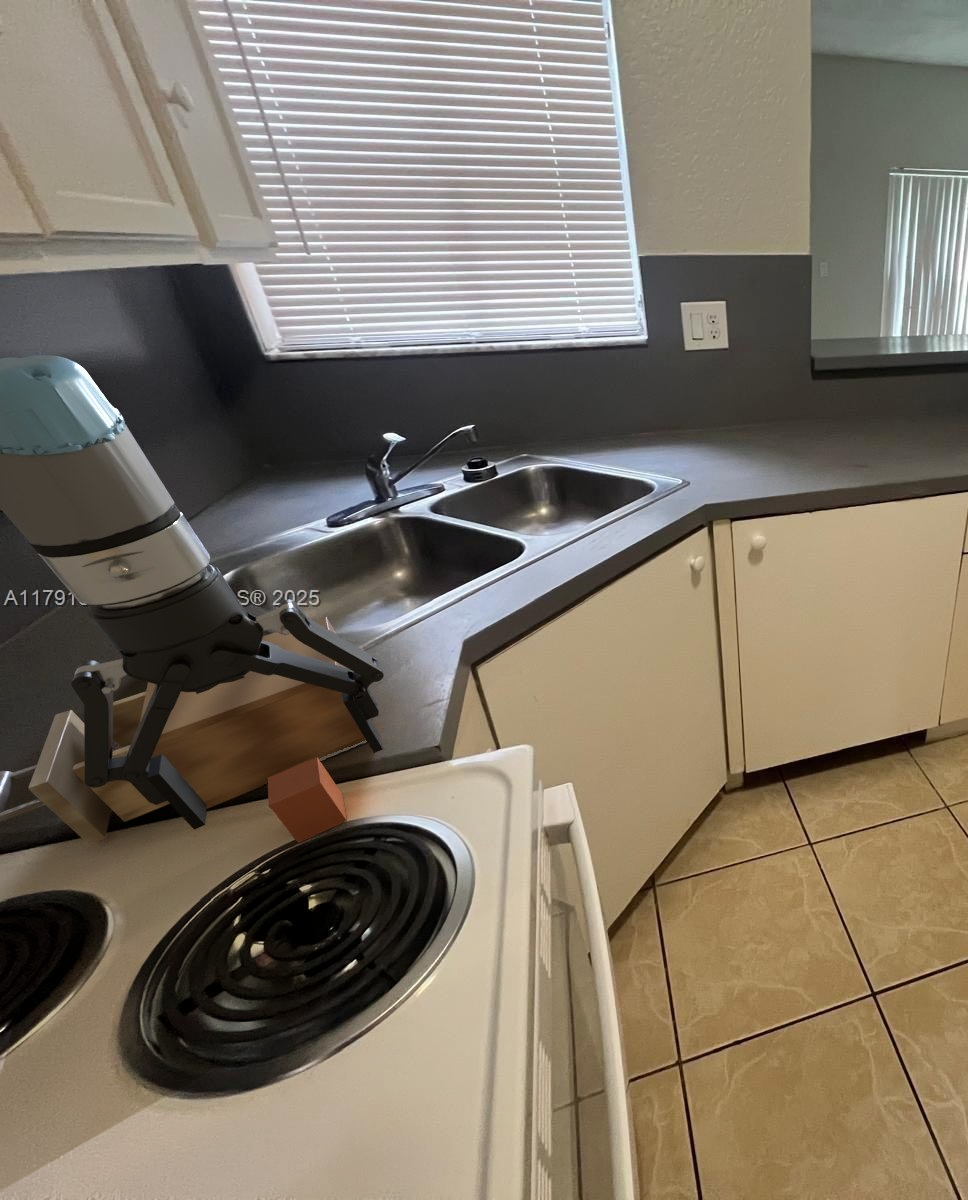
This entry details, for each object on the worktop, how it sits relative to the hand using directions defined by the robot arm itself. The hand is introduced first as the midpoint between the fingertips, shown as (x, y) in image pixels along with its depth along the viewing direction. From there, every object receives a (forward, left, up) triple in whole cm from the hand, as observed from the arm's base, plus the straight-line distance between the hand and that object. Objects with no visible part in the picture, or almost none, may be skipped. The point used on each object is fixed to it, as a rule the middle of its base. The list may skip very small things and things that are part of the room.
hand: (293, 778), depth 58 cm
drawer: (-19, +5, -5) cm, 21 cm away
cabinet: (-10, +11, -6) cm, 16 cm away
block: (0, 0, -6) cm, 6 cm away
